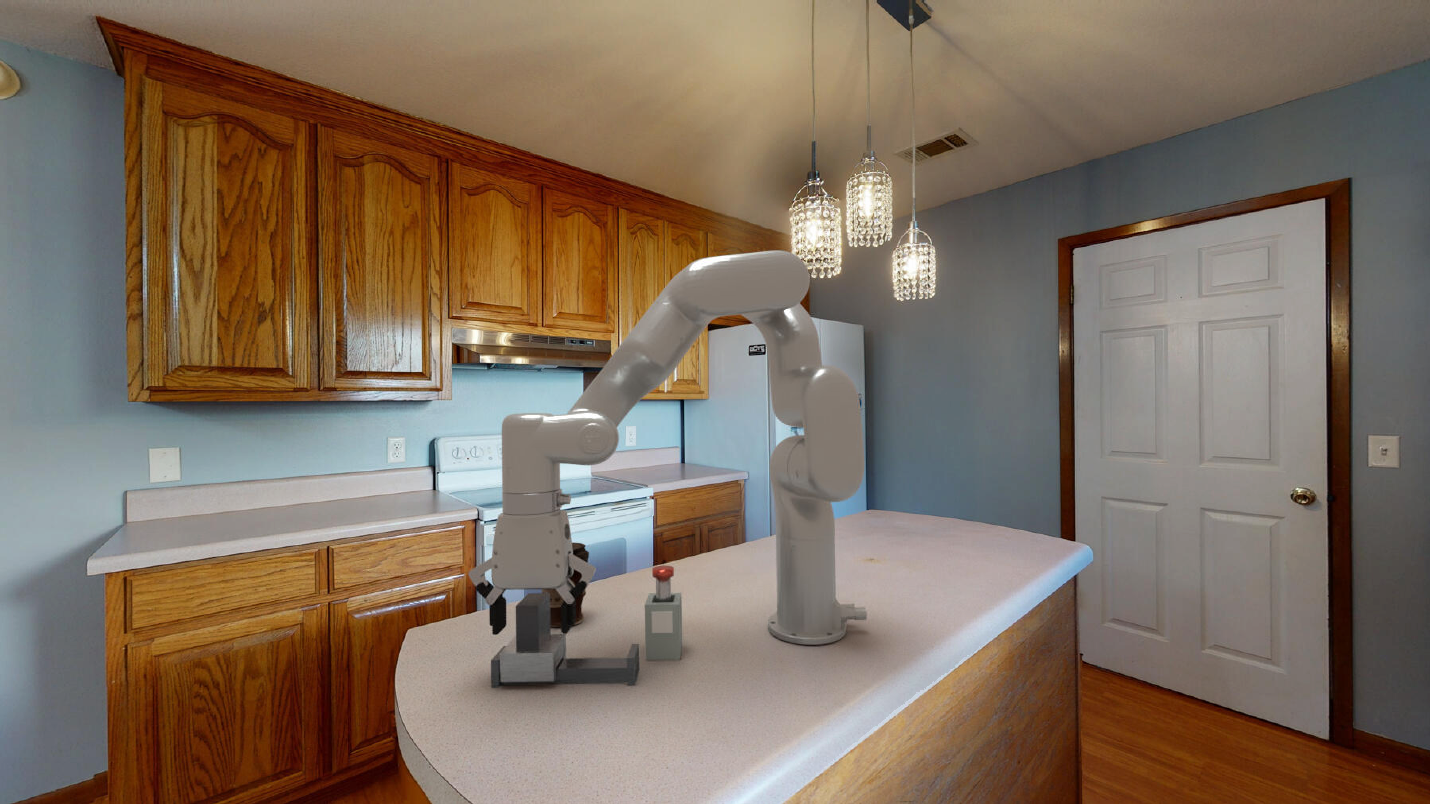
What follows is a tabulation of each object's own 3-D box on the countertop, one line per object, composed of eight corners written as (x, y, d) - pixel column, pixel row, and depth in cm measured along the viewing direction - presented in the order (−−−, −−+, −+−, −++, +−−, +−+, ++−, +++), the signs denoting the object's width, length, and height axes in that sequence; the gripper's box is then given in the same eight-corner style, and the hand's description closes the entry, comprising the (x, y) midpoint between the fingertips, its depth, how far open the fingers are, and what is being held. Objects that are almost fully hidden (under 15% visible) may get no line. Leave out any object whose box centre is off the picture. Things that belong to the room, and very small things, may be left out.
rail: (639, 669, 77) (639, 643, 77) (634, 685, 73) (634, 658, 73) (504, 671, 77) (503, 645, 77) (491, 687, 73) (490, 660, 73)
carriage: (566, 660, 78) (565, 591, 78) (553, 682, 72) (552, 606, 72) (516, 661, 78) (515, 592, 78) (500, 682, 72) (499, 607, 72)
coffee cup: (575, 633, 90) (574, 553, 90) (529, 630, 92) (527, 552, 92) (597, 613, 98) (596, 540, 99) (554, 610, 100) (553, 539, 100)
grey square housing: (682, 644, 85) (681, 592, 85) (679, 660, 80) (679, 604, 80) (649, 645, 85) (649, 593, 85) (645, 660, 80) (644, 605, 80)
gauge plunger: (675, 611, 84) (674, 565, 84) (673, 619, 81) (672, 571, 81) (654, 611, 84) (653, 565, 84) (651, 619, 81) (651, 571, 81)
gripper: (601, 498, 79) (602, 618, 79) (480, 499, 79) (481, 620, 79) (588, 507, 71) (590, 641, 71) (455, 509, 71) (456, 642, 71)
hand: (533, 630), depth 75 cm, fingers open, 8 cm apart
